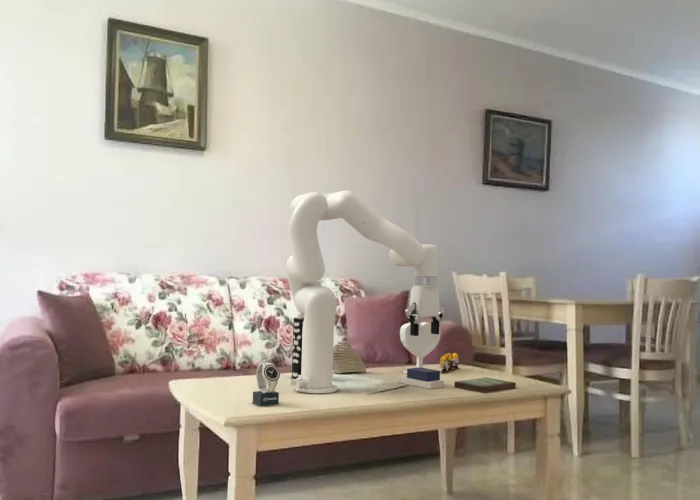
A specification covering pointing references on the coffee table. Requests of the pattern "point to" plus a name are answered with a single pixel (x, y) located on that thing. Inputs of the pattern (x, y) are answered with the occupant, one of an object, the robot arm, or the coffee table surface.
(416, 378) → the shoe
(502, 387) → the green brown rectangular slab
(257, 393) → the watch
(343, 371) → the fossil tooth
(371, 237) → the robot arm
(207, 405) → the coffee table surface
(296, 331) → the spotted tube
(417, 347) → the heart sculpture
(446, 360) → the figurine set
